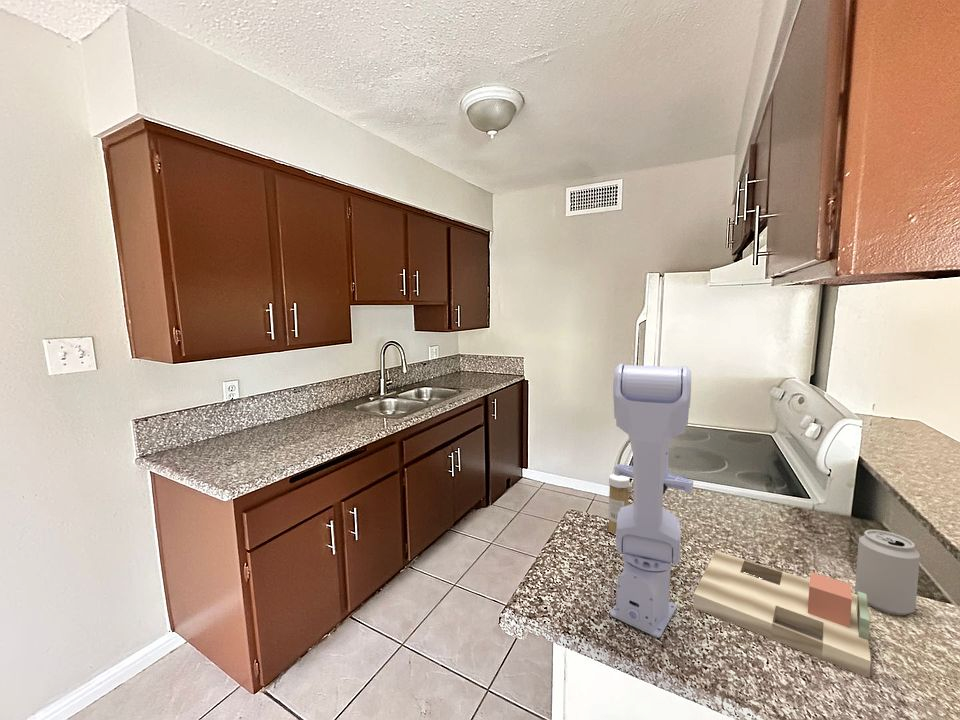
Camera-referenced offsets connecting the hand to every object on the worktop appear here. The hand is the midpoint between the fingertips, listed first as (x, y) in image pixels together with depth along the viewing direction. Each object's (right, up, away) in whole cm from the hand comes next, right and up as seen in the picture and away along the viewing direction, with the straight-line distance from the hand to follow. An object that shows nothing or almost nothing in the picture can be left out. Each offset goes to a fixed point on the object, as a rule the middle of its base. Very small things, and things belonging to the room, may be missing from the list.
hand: (650, 517), depth 82 cm
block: (+22, -9, -16) cm, 28 cm away
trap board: (+17, -11, -12) cm, 23 cm away
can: (+36, -11, -11) cm, 39 cm away
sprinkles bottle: (-2, -9, +14) cm, 17 cm away
